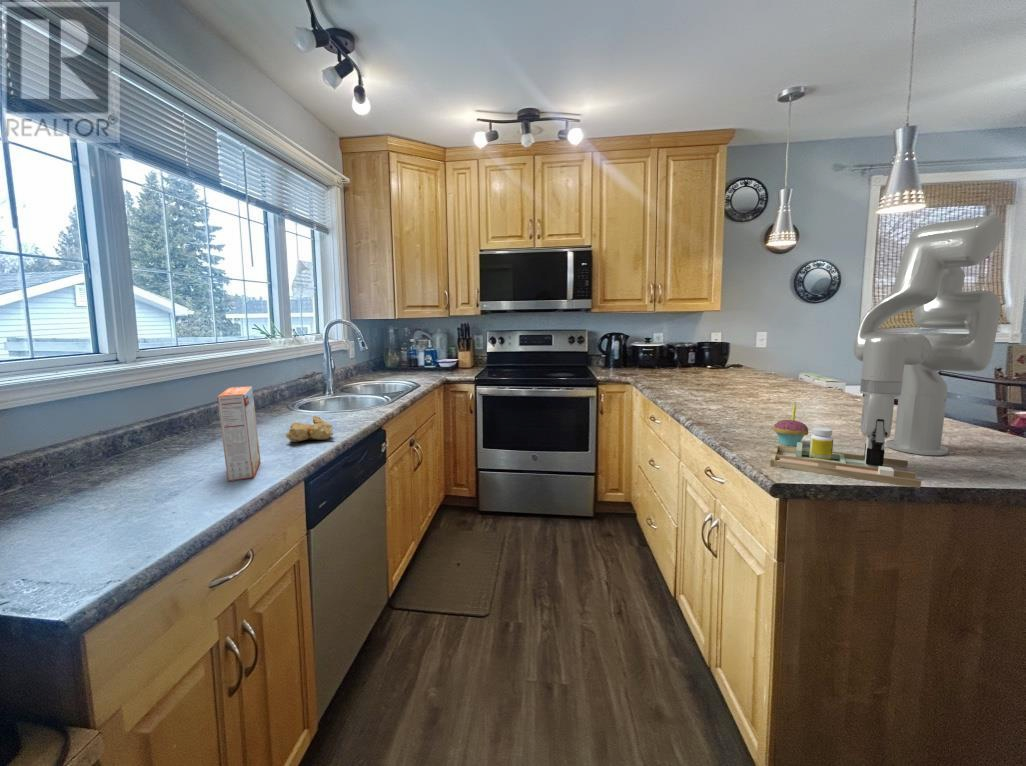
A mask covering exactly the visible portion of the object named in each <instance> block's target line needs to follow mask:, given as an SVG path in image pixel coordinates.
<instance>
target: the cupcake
mask: <svg viewBox="0 0 1026 766" xmlns="http://www.w3.org/2000/svg"><path fill="white" fill-rule="evenodd" d="M796 410H797V405H796V402H794V405H793V406H792V414H791V419H782V420H780V421H778V422H776V423H775V424H774V425H773V431H774V433H776V435H777V437H778V440H779V443H780V444H781V445H782V444H784V445H783V446H786V445H789V446H790V447H797V442H801V443H802V440H803V438H804V436H808V434H809V427H808V425H806V424H805V423H803V422H801V421H799V420H795V417H796Z"/></svg>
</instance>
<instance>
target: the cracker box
mask: <svg viewBox="0 0 1026 766" xmlns="http://www.w3.org/2000/svg"><path fill="white" fill-rule="evenodd" d="M216 399H217V407H218V414H219V415H218V416H219V421H220V431H221V437H222V446H223V447H222V448H223V452H224V453H223V454H224V462H225V469H226V478H227V482H235V481H241V480H246V479H247V480H248V479H254V478H255V477H256V473H257V471H258V468H259V466H260V464H261V452H260V444H259V436H258V426H257V417H256V406H255V399H254V389H253V386H232V387H229V388H226V389H225V390H224V391H223V392H221V393H220V394H219V395H217V397H216Z"/></svg>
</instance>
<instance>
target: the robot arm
mask: <svg viewBox="0 0 1026 766" xmlns="http://www.w3.org/2000/svg"><path fill="white" fill-rule="evenodd" d="M1004 234H1005V226H1004V222H1003V220H1002V219H1001V218H999V217H998V216H995V215H984V216H977V217H971V218H965V219H964V218H963V219H956V220H949V221H942V222H936V223H935V222H934V223H931V224H927V225H923V226H921V227H918V228H916V229H915V230H913V231H912V232H911V234H910V236H909V239H908V240H909V241H908V243H907V244H906V245H905V248H904V249H903V254H902V257H901V260H900V263H899V266H898V270H897V273H896V275H895V276H896V277H895V280H894V284H893V287H892V290H891V292H890V294H888V295H886V296H885V297H884V298H882V299H881V300H879V301H878V302H877V303H875V305H873V307H871V308H870V309H869V310H868V311H867V312H866V313H865V315H863V317H862V319H861V320H860V323H859V326H858V329H857V332H856V335H855V339H854V342H853V343H854V344H853V354H854V357H855V358H856V359H857V360H858V361H860V362H862V367H861V378H860V389H859V393H860V394H863V396H864V397H863V403H862V409H861V410H862V411H861V419H860V425H859V429H860V432H861V434H862V435H863V436H865V437H866V438H867V437H869V448H867V453H866V464H867V465H873V466H883V467H884V464H883V461H884V458H885V445H886V446H887V448H890V449H893V450H895V451H899V452H904V453H908V454H909V453H910V454H916V455H923V456H944V455H948V454H949V449H948V447H947V446H944V445H942V439H943V430H944V421H945V420H944V419H945V416H946V415H945V414H946V413H945V412H946V407H947V405H946V404H947V399H948V397H947V396H948V385H947V383H946V381H945V379H944V378H943V377H942V375H941V374H940V373H939V372H938V371H949V372H950V371H951V372H954V371H955V372H968V373H969V372H972V373H974V372H975V373H976V372H981V371H983V370H986V368H988V367H989V364H990V363H991V360H992V356H993V352H994V348H995V343H996V336H997V332H998V328H999V323H1000V316H1001V311H1002V310H1001V309H1002V307H1001V301H1000V297H999V296H998V295H997V294H996V293H995V292H992V291H988V290H970V291H969V290H968V291H963V287H964V283H965V278H966V273H965V272H964V270H963V267H964V268H965V267H974V266H976V265H979V264H981V263H982V262H983V261H985V259H987V257H989V256H990V255H991V254H992V253H993V252H994V251H995V250H996V249H997V248H998V247H999V245H1000V244H1001V242H1002V239H1003V238H1004ZM911 310H914V311H913V322H914V324H915V325H916V326H917V327H919V328H923V329H929V330H930V329H933V330H967V331H968V333H952V332H951V333H947V332H919V333H908V332H907V333H903V332H902V333H901V332H900V333H898V332H877V331H878V330H879V328H880V327H881V326H882V324H885V322H887V321H888V320H889V319H891V318H893V317H895V316H897V315H900V314H903V313H905V312H908V311H911ZM895 397H898V398H897V399H898V400H897V409H896V417H895V427H894V436H893V438H892V439H888V440H887V441H886V439H887V438H890V437H891V434H892V433H891V430H892V425H893V417H894V407H895V405H894V404H895ZM874 439H875V440H874ZM866 441H867V439H866ZM885 441H886V442H885ZM865 451H866V443H865V444H864V452H863V455H864V459H865Z"/></svg>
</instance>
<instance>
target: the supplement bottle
mask: <svg viewBox="0 0 1026 766" xmlns="http://www.w3.org/2000/svg"><path fill="white" fill-rule="evenodd" d="M832 436H833V430H832V428H828V427H823V426H822V427H818V426H817V427H816V426H815V427H813V428H812V435H810V440H809V441H810V442H809V449H810V452H809V455H808V458H816V459H823V460H831V461H833V458H832V452H833V449H834V448H833V447H834V437H832Z"/></svg>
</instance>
